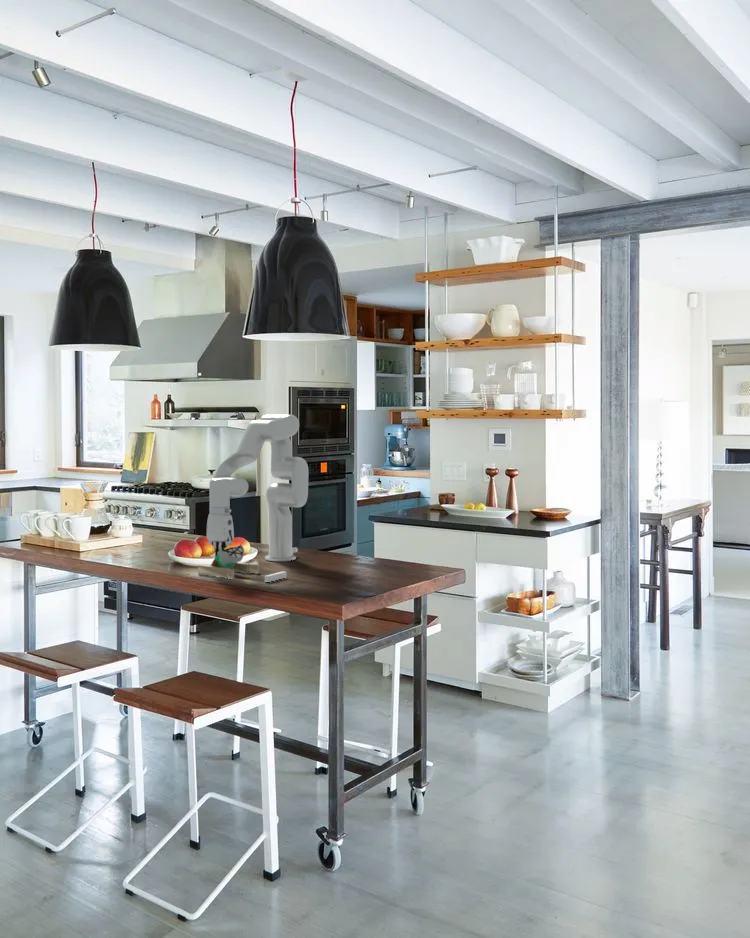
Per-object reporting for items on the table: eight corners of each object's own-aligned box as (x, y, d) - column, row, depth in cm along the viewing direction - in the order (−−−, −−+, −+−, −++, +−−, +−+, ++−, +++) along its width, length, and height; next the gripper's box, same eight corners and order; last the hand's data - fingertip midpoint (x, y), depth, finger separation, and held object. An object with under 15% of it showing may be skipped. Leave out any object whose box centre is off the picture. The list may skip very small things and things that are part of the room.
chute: (224, 568, 352) (224, 559, 351) (260, 573, 343) (260, 564, 343) (194, 575, 337) (194, 566, 337) (231, 580, 328) (231, 570, 328)
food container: (216, 579, 335) (229, 561, 331) (206, 567, 337) (219, 549, 333) (238, 573, 345) (251, 555, 341) (229, 561, 347) (241, 543, 343)
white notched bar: (282, 577, 334) (282, 571, 334) (286, 578, 333) (286, 571, 333) (264, 582, 324) (264, 575, 324) (268, 583, 324) (268, 576, 324)
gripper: (241, 511, 340) (241, 560, 341) (211, 509, 347) (211, 556, 349) (228, 513, 333) (228, 562, 335) (197, 510, 341) (197, 559, 342)
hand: (219, 559), depth 342 cm, fingers closed
